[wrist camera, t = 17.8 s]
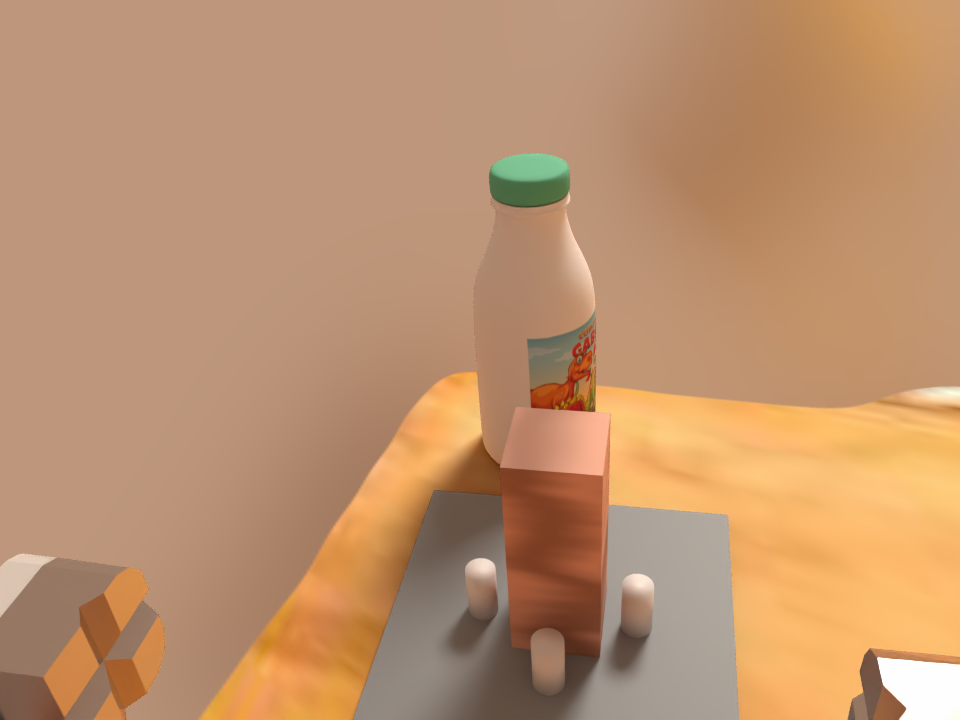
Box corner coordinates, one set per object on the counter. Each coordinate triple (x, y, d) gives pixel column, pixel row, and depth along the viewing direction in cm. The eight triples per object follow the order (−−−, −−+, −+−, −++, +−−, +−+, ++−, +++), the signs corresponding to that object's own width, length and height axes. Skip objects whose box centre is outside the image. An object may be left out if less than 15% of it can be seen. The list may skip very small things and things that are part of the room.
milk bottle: (489, 485, 57) (467, 197, 46) (477, 415, 64) (456, 148, 53) (606, 471, 58) (611, 183, 47) (582, 403, 64) (583, 136, 53)
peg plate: (726, 527, 53) (732, 476, 50) (741, 819, 38) (751, 765, 36) (435, 501, 56) (429, 453, 54) (346, 759, 41) (333, 707, 39)
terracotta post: (606, 590, 48) (610, 413, 41) (599, 657, 44) (602, 475, 38) (525, 581, 49) (516, 407, 42) (511, 647, 45) (499, 467, 38)
